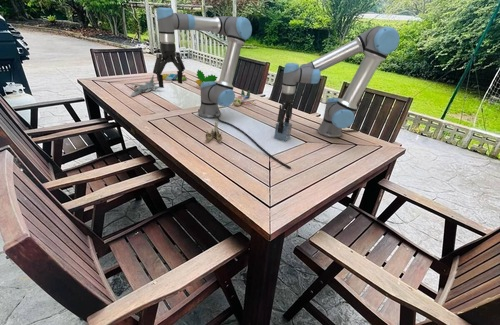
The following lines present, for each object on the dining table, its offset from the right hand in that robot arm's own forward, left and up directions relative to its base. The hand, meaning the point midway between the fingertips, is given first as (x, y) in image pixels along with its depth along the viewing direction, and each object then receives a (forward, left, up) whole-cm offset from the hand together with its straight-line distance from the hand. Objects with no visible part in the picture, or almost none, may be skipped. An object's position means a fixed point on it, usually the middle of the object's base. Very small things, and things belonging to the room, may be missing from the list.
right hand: (283, 130), depth 157 cm
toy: (0, -77, -5) cm, 77 cm away
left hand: (+61, -22, +23) cm, 69 cm away
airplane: (+75, -119, -5) cm, 141 cm away
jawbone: (+40, -7, -5) cm, 41 cm away
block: (0, 0, -5) cm, 5 cm away
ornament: (+19, -128, -5) cm, 129 cm away
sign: (+46, -172, -5) cm, 178 cm away
